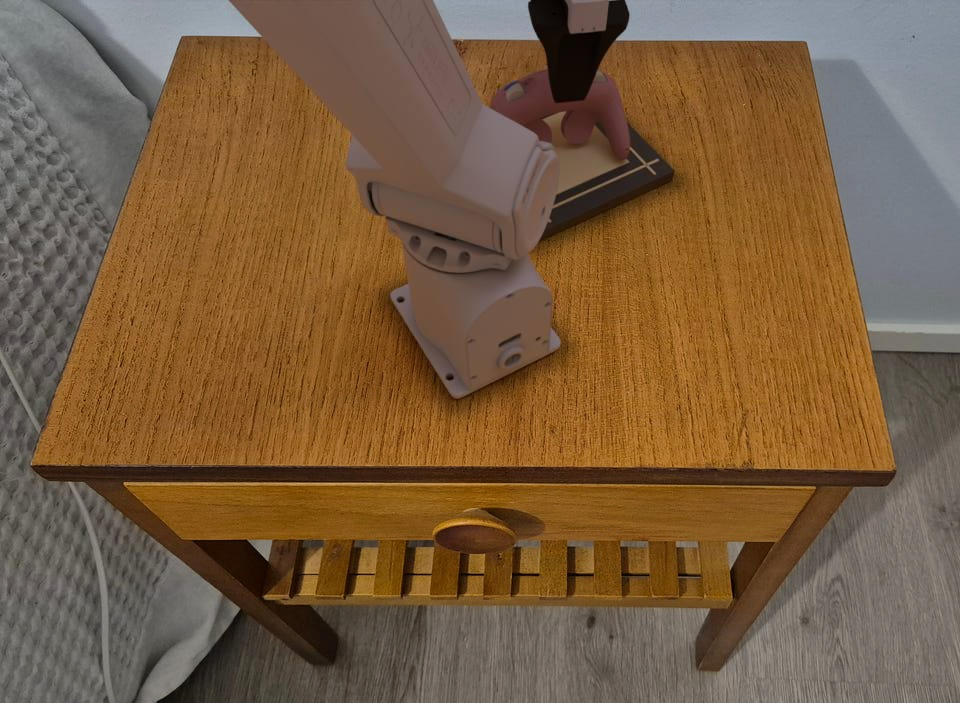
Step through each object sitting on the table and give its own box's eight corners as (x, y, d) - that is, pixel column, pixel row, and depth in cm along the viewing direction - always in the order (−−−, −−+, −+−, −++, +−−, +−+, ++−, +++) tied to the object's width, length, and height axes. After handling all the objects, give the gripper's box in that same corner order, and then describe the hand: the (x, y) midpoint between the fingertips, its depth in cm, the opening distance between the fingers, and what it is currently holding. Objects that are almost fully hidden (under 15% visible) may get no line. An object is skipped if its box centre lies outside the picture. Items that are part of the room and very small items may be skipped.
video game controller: (614, 145, 63) (609, 51, 59) (636, 161, 59) (632, 62, 56) (492, 171, 62) (478, 77, 58) (506, 189, 58) (493, 90, 54)
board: (672, 180, 60) (675, 169, 59) (534, 243, 57) (534, 233, 56) (584, 88, 66) (585, 77, 65) (454, 142, 63) (453, 131, 62)
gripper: (483, -212, 47) (488, 1, 58) (516, -74, 39) (514, 140, 50) (603, -222, 47) (585, -9, 59) (660, -87, 39) (626, 129, 51)
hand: (559, 60), depth 55 cm, fingers open, 7 cm apart
